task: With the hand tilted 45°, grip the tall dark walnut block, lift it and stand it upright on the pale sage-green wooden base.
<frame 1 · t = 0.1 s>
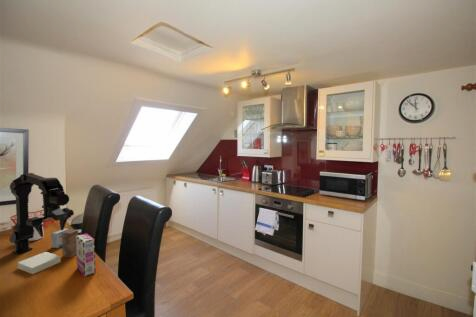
hand: (52, 233, 120), 15 cm above the table, tool pointing down, fingers open, 9 cm apart
candy bar box: (86, 270, 113), on the table
sage base: (39, 265, 117), on the table
walnut block: (71, 254, 128), on the table
beverage can: (35, 239, 147), on the table
medicine box: (61, 245, 139), on the table
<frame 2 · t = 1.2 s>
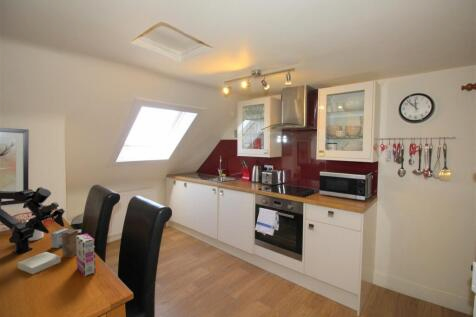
hand: (56, 229, 128), 13 cm above the table, tool tilted 45°, fingers open, 9 cm apart
nothing on the table moved.
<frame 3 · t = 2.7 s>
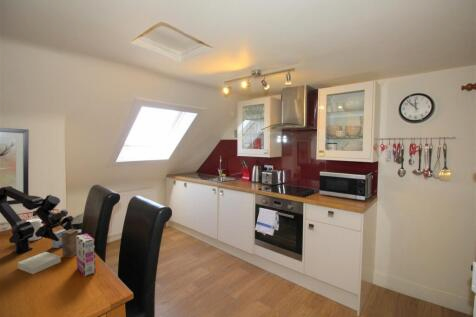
hand: (66, 237, 127), 10 cm above the table, tool tilted 45°, fingers open, 9 cm apart
nothing on the table moved.
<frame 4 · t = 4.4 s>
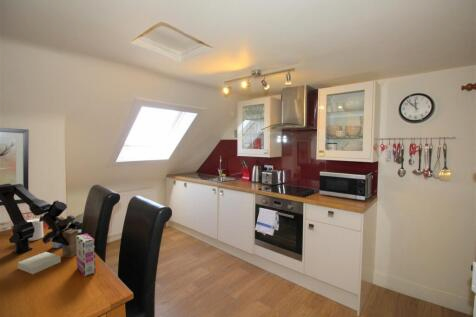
hand: (72, 243, 127), 7 cm above the table, tool tilted 45°, fingers closed on walnut block, 5 cm apart
walnut block: (71, 254, 128), on the table, touching gripper
everything else where it was.
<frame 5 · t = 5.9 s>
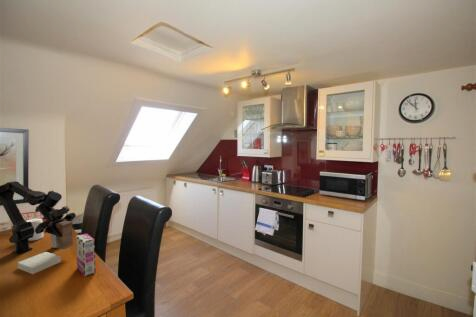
hand: (66, 234, 124), 12 cm above the table, tool tilted 45°, fingers closed on walnut block, 5 cm apart
walnut block: (64, 246, 125), point 6 cm above the table, touching gripper
everything else where it was.
when the fingers open (11 cm above the table, at t = 7.5 s): walnut block drops 1 cm, resting on sage base.
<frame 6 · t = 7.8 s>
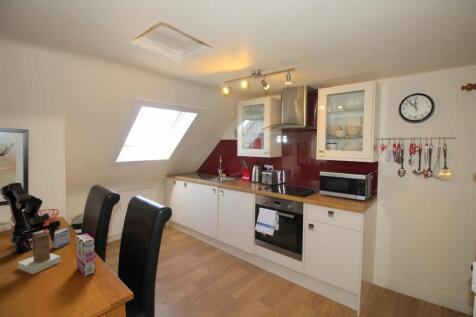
hand: (42, 245, 115), 11 cm above the table, tool tilted 45°, fingers open, 9 cm apart
walnut block: (41, 260, 116), point 3 cm above the table, touching sage base
everything else where it was.
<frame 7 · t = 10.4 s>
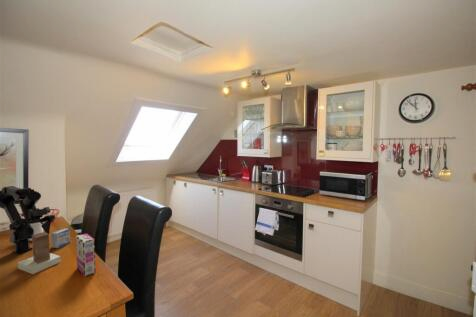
hand: (39, 236, 121), 13 cm above the table, tool tilted 35°, fingers open, 9 cm apart
nothing on the table moved.
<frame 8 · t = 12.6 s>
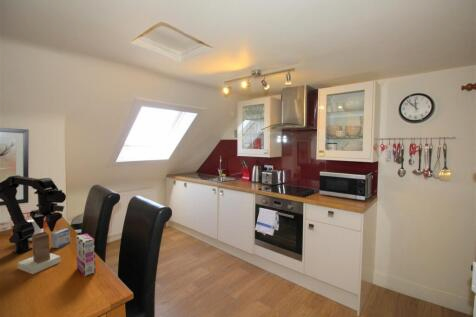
hand: (46, 230, 128), 13 cm above the table, tool pointing down, fingers open, 9 cm apart
nothing on the table moved.
at the end: walnut block inside the target area on the sage base (2.0 cm from its centre), point 3.0 cm above the sage base's base; walnut block tilted 0°; the gripper is holding nothing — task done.
